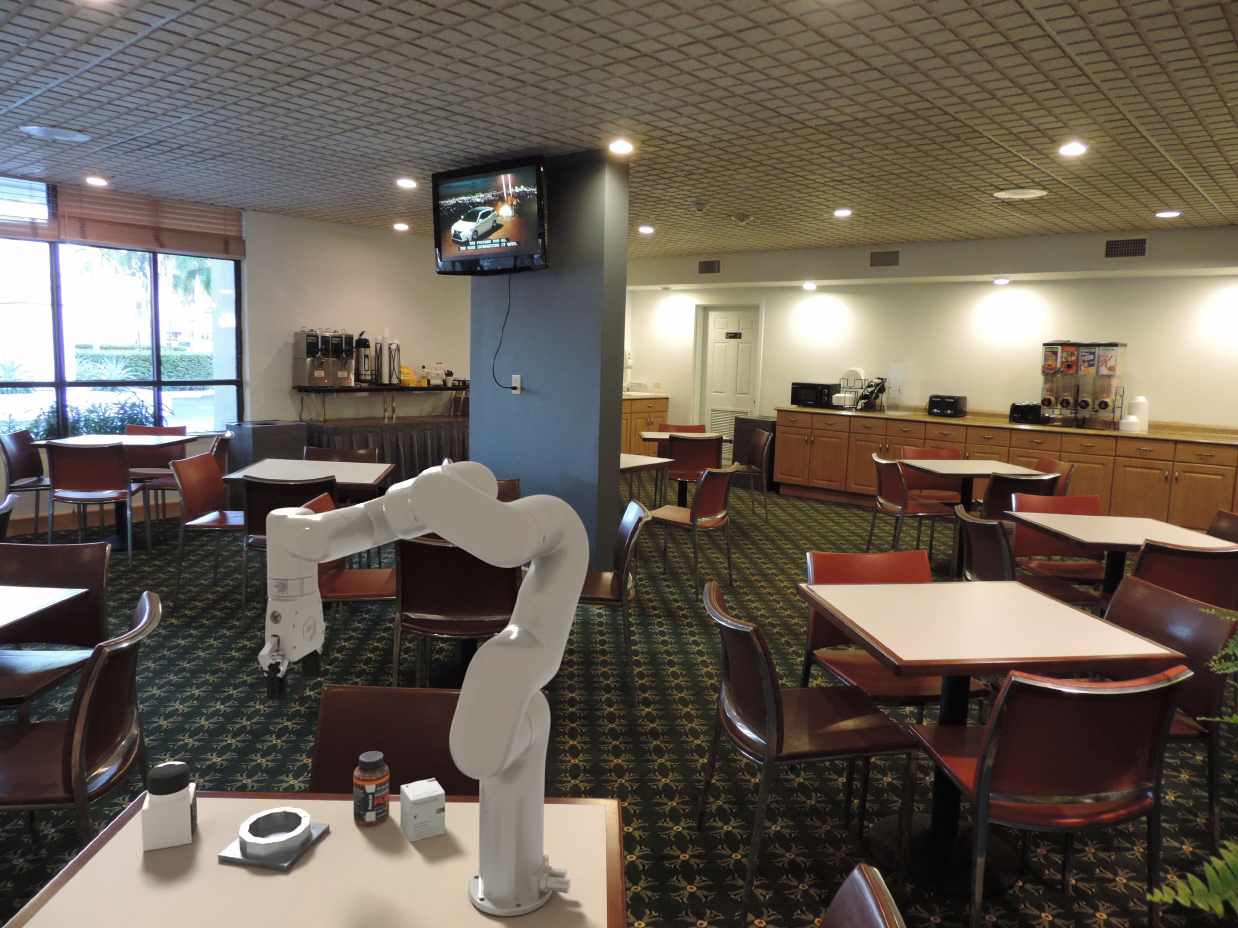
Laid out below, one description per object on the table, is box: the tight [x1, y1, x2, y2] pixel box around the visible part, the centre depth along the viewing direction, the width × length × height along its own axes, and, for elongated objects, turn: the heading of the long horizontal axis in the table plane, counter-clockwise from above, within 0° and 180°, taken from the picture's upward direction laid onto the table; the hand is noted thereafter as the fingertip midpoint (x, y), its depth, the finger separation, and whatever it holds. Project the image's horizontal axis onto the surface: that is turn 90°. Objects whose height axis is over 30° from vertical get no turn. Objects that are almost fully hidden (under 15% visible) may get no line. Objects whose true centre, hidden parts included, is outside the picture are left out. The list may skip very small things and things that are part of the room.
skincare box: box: [399, 777, 446, 843], centre depth 138 cm, size 6×6×7 cm
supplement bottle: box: [352, 750, 390, 827], centre depth 141 cm, size 6×6×11 cm
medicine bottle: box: [140, 761, 198, 852], centre depth 134 cm, size 7×7×12 cm
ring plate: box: [217, 806, 331, 873], centre depth 133 cm, size 12×12×4 cm
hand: (295, 687), depth 133 cm, fingers open, 9 cm apart
